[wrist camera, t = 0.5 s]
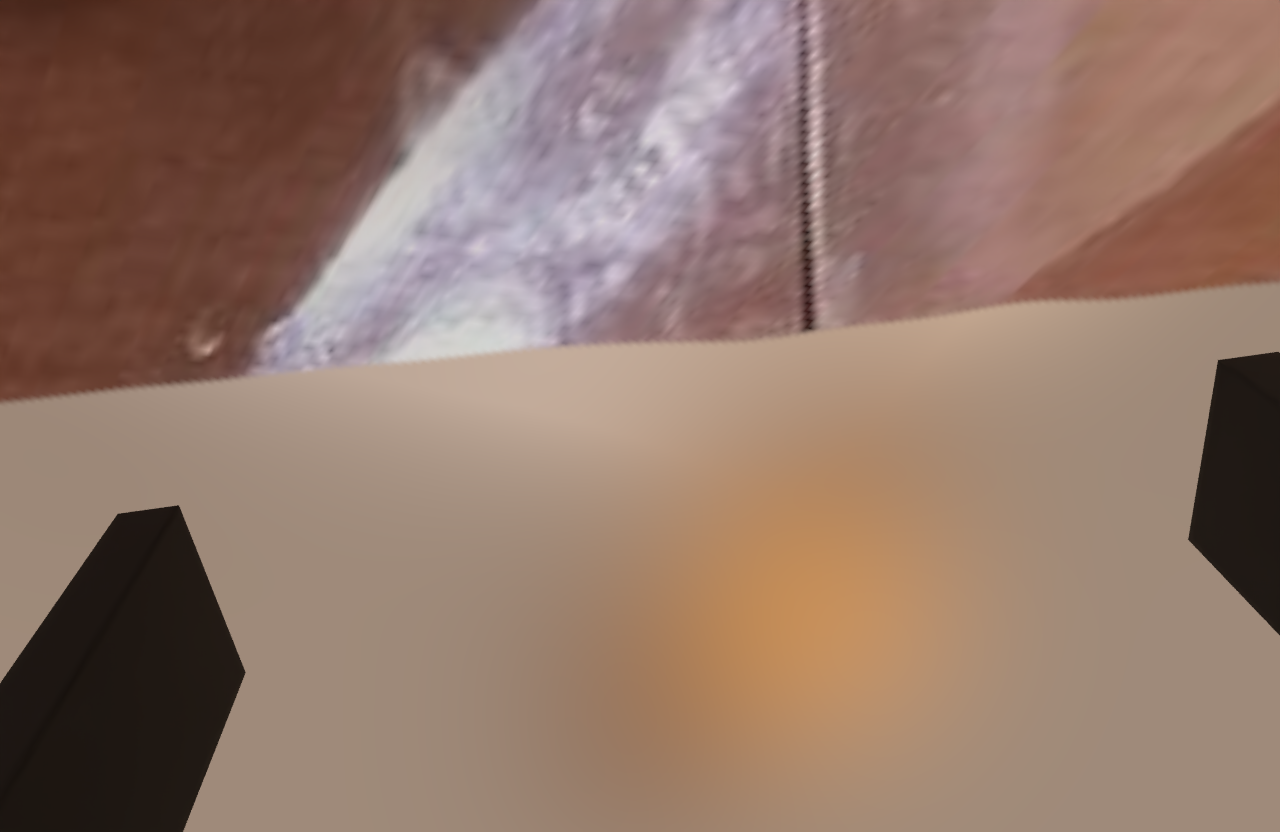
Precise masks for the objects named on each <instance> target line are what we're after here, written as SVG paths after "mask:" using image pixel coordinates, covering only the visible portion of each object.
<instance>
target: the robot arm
mask: <svg viewBox="0 0 1280 832" xmlns="http://www.w3.org/2000/svg"><path fill="white" fill-rule="evenodd" d="M1188 540H1189V541H1190V542H1191V543H1192V544H1193V545H1194V546H1195V547H1196V548H1197V549H1198V550H1199V551H1200V552H1201V553H1202V555H1203V556H1204V557H1205V558H1206V559H1207V560H1208V561H1209V562H1210V563H1211V564H1212V565H1213V566H1214V567H1215V568H1216V569H1217V570H1218V571H1219V572H1220V573H1221V574H1222V575H1223V577H1224V578H1225V579H1226V580H1227V581H1228V582H1229V583H1230V584H1231V585H1232V586H1233V587H1234V588H1235V589H1236V590H1237V591H1238V592H1239V593H1240V594H1241V595H1242V596H1243V597H1244V598H1245V600H1246V601H1247V602H1248V603H1249V604H1250V605H1251V606H1252V607H1253V608H1254V609H1255V610H1256V611H1257V612H1258V613H1259V614H1260V615H1261V616H1262V617H1263V618H1264V619H1265V620H1266V621H1267V622H1268V624H1269V625H1270V626H1271V627H1272V628H1273V629H1274V630H1275V631H1276V632H1277V633H1278V634H1279V635H1280V353H1279V352H1274V353H1266V354H1259V355H1252V356H1245V357H1238V358H1231V359H1223V360H1218V364H1217V370H1216V376H1215V382H1214V388H1213V394H1212V400H1211V406H1210V412H1209V419H1208V424H1207V430H1206V436H1205V442H1204V449H1203V454H1202V460H1201V467H1200V473H1199V478H1198V485H1197V490H1196V497H1195V503H1194V508H1193V515H1192V520H1191V526H1190V533H1189V538H1188ZM244 675H245V670H244V667H243V665H242V662H241V660H240V658H239V655H238V653H237V650H236V648H235V645H234V642H233V640H232V638H231V635H230V632H229V630H228V627H227V625H226V622H225V620H224V617H223V615H222V612H221V610H220V607H219V605H218V602H217V600H216V597H215V595H214V592H213V590H212V587H211V585H210V582H209V580H208V577H207V575H206V572H205V570H204V567H203V565H202V562H201V560H200V557H199V555H198V552H197V550H196V547H195V545H194V542H193V540H192V537H191V535H190V532H189V530H188V527H187V525H186V522H185V520H184V517H183V514H182V512H181V509H180V507H179V506H172V507H164V508H157V509H150V510H143V511H135V512H128V513H121V514H117V516H116V517H115V519H114V520H113V521H112V523H111V525H110V526H109V527H108V529H107V530H106V532H105V533H104V535H103V536H102V537H101V539H100V540H99V542H98V543H97V545H96V546H95V547H94V549H93V551H92V552H91V553H90V555H89V556H88V558H87V559H86V560H85V562H84V563H83V565H82V566H81V568H80V569H79V571H78V572H77V574H76V575H75V576H74V578H73V579H72V581H71V582H70V583H69V585H68V586H67V588H66V589H65V591H64V592H63V594H62V595H61V597H60V598H59V599H58V601H57V602H56V604H55V605H54V607H53V608H52V610H51V611H50V612H49V614H48V615H47V617H46V618H45V619H44V621H43V623H42V624H41V625H40V627H39V628H38V630H37V631H36V632H35V634H34V635H33V637H32V638H31V640H30V641H29V643H28V644H27V645H26V647H25V648H24V650H23V651H22V653H21V654H20V656H19V657H18V658H17V660H16V661H15V663H14V664H13V666H12V667H11V669H10V670H9V672H8V673H7V674H6V676H5V677H4V679H3V680H2V682H1V683H0V832H183V830H184V828H185V825H186V823H187V820H188V818H189V815H190V812H191V810H192V807H193V805H194V802H195V800H196V797H197V795H198V792H199V790H200V787H201V785H202V782H203V779H204V777H205V774H206V772H207V769H208V767H209V764H210V761H211V759H212V757H213V754H214V752H215V749H216V746H217V744H218V741H219V739H220V736H221V734H222V731H223V728H224V726H225V723H226V721H227V718H228V716H229V713H230V711H231V708H232V706H233V703H234V701H235V698H236V696H237V693H238V691H239V688H240V685H241V683H242V680H243V678H244Z"/></svg>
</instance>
